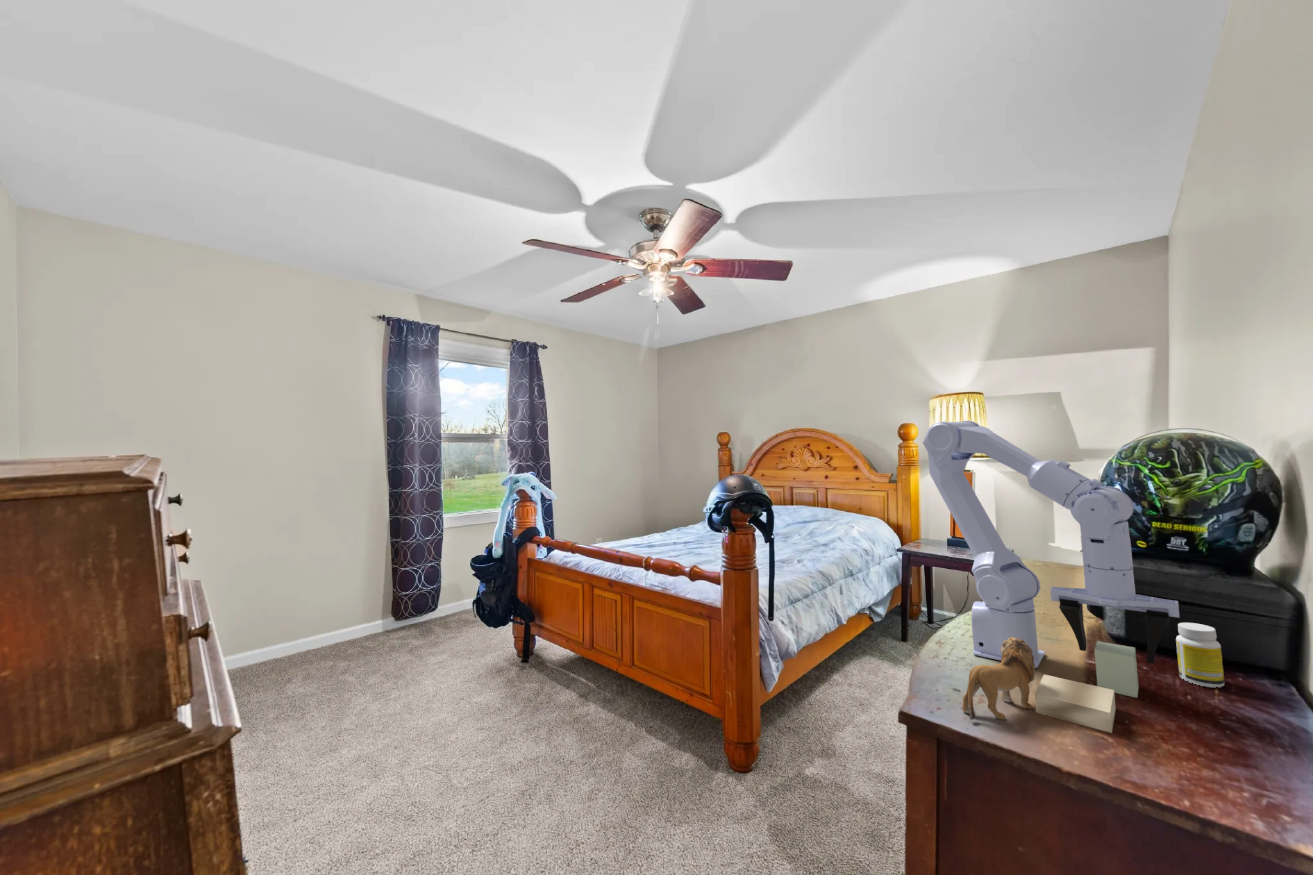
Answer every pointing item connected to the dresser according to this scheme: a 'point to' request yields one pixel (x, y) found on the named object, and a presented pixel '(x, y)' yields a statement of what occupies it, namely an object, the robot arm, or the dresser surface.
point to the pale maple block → (1076, 702)
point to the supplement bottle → (1199, 655)
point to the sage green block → (1116, 668)
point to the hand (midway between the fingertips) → (1115, 654)
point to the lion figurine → (1002, 677)
